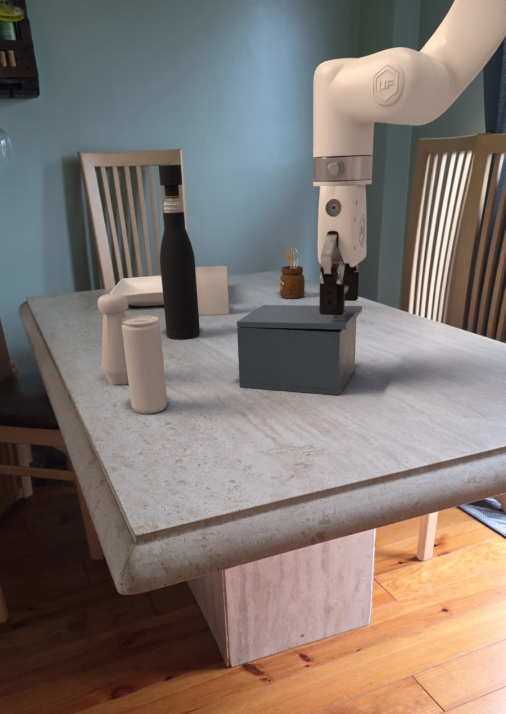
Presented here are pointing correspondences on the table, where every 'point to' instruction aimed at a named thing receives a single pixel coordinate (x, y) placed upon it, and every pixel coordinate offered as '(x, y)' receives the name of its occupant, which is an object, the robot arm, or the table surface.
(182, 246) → the black water bottle
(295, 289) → the utensil holder
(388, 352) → the table surface
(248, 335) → the bin
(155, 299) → the square plate
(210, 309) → the beige rectangular box
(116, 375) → the salt shaker
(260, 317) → the bin lid
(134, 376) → the beverage can
